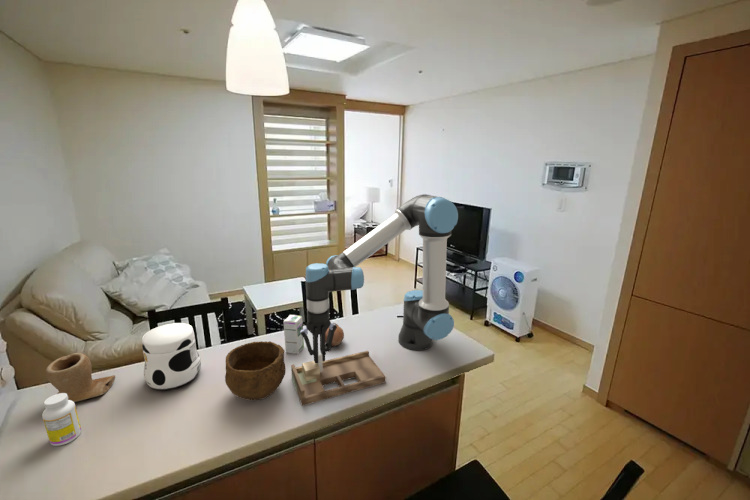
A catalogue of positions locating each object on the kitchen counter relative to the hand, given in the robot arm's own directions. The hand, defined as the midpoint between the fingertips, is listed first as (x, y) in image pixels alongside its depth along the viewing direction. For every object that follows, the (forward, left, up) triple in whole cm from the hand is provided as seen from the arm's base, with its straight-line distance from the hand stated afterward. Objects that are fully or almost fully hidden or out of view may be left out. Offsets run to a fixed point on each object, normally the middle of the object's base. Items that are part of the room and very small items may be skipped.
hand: (319, 369), depth 121 cm
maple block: (+3, 0, -1) cm, 3 cm away
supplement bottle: (+72, -3, -4) cm, 72 cm away
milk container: (+47, -21, -4) cm, 52 cm away
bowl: (+21, -1, -4) cm, 22 cm away
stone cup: (+73, -22, -4) cm, 77 cm away
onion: (-12, -21, -4) cm, 24 cm away
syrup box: (+4, -23, -4) cm, 24 cm away
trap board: (-6, +3, -4) cm, 7 cm away
